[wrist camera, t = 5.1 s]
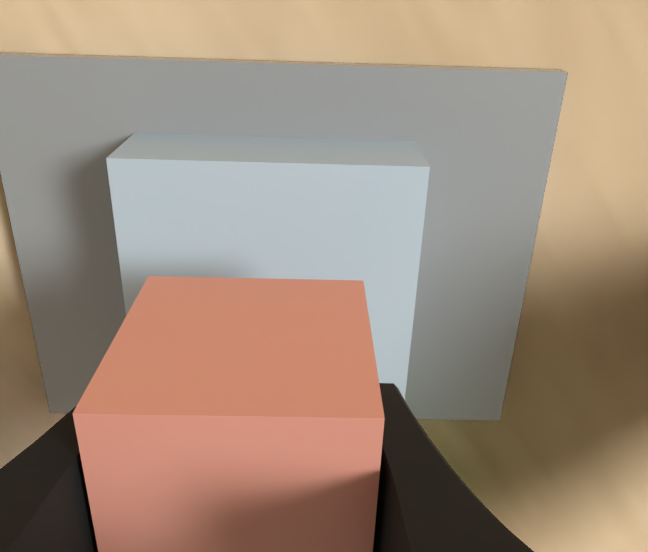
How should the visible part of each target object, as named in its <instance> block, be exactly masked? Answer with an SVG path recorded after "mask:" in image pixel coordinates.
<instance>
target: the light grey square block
mask: <svg viewBox="0 0 648 552" xmlns="http://www.w3.org/2000/svg"><path fill="white" fill-rule="evenodd" d="M106 162H107V169H108V177H109V185H110V193H111V201H112V209H113V216H114V224H115V232H116V240H117V248H118V256H119V264H120V271H121V279H122V287H123V295H124V303H125V311H126V316H127V314H128V312H129V310H130V308H131V307H132V305H133V303H134V301H135V299H136V298H137V296H138V294H139V292H140V290H141V288H142V287H143V285H144V283H145V281H146V279H147V278H148V276H171V277H220V278H269V279H318V280H363V282H364V288H365V295H366V301H367V307H368V314H369V320H370V327H371V333H372V340H373V346H374V353H375V359H376V366H377V372H378V378H379V383H394V384H395V386H396V387H397V388H398V389H399V391H400V393H401V394H402V396H403V398H404V400H405V393H406V384H407V374H408V365H409V356H410V347H411V337H412V328H413V319H414V310H415V301H416V291H417V282H418V273H419V264H420V254H421V245H422V236H423V227H424V218H425V208H426V199H427V190H428V181H429V171H430V166H429V164H428V163H427V161H426V159H425V157H424V156H423V154H422V152H421V150H420V149H419V147H418V145H417V143H416V142H415V141H395V140H359V139H323V138H287V137H251V136H215V135H179V134H144V133H134V134H133V135H132V136H130V137H129V138H128V139H127V140H126V141H125V142H124V143H123V144H121V145H120V146H119V147H118V148H117V149H116V150H115V151H114V152H112V153H111V154H110V155H109V156H108V157H107V158H106Z"/></svg>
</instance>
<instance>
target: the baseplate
mask: <svg viewBox="0 0 648 552" xmlns="http://www.w3.org/2000/svg"><path fill="white" fill-rule="evenodd" d="M567 75H568V72H565V71H563V70H561V69H532V68H499V67H466V66H433V65H401V64H368V63H335V62H302V61H269V60H237V59H204V58H171V57H138V56H105V55H73V54H40V53H7V52H0V173H1V178H2V183H3V188H4V192H5V197H6V202H7V207H8V212H9V217H10V222H11V226H12V231H13V236H14V241H15V246H16V251H17V256H18V260H19V265H20V270H21V275H22V280H23V285H24V289H25V294H26V299H27V304H28V309H29V314H30V319H31V323H32V328H33V333H34V338H35V343H36V348H37V353H38V357H39V362H40V367H41V372H42V377H43V382H44V386H45V391H46V396H47V401H48V406H49V411H50V413H69V412H70V411H71V410H72V409H73V408H74V407H75V406H76V405H77V404H78V403H79V401H80V399H81V397H82V396H83V394H84V392H85V390H86V388H87V386H88V385H89V383H90V381H91V379H92V377H93V376H94V374H95V372H96V370H97V368H98V366H99V365H100V363H101V361H102V359H103V357H104V356H105V354H106V352H107V350H108V348H109V347H110V345H111V343H112V341H113V339H114V337H115V336H116V334H117V332H118V330H119V328H120V327H121V325H122V323H123V321H124V319H125V317H126V311H125V303H124V295H123V287H122V279H121V271H120V264H119V256H118V248H117V240H116V232H115V224H114V216H113V209H112V201H111V193H110V185H109V177H108V169H107V162H106V158H107V157H108V156H109V155H110V154H111V153H112V152H114V151H115V150H116V149H117V148H118V147H119V146H120V145H121V144H123V143H124V142H125V141H126V140H127V139H128V138H129V137H130V136H132V135H133V134H134V133H144V134H179V135H215V136H251V137H287V138H323V139H359V140H395V141H415V142H416V143H417V145H418V147H419V149H420V150H421V152H422V154H423V156H424V157H425V159H426V161H427V163H428V164H429V166H430V171H429V181H428V190H427V199H426V208H425V218H424V227H423V236H422V245H421V254H420V264H419V273H418V282H417V291H416V301H415V310H414V319H413V328H412V337H411V347H410V356H409V365H408V374H407V384H406V393H405V402H406V403H407V405H408V407H409V408H410V410H411V411H412V413H413V415H414V416H415V418H416V419H429V420H484V421H500V417H501V412H502V407H503V402H504V397H505V391H506V386H507V381H508V376H509V371H510V366H511V361H512V356H513V351H514V346H515V340H516V335H517V330H518V325H519V320H520V315H521V310H522V305H523V300H524V294H525V289H526V284H527V279H528V274H529V269H530V264H531V259H532V254H533V248H534V243H535V238H536V233H537V228H538V223H539V218H540V213H541V208H542V202H543V197H544V192H545V187H546V182H547V177H548V172H549V167H550V162H551V156H552V151H553V146H554V141H555V136H556V131H557V126H558V121H559V116H560V110H561V105H562V100H563V95H564V90H565V85H566V80H567Z"/></svg>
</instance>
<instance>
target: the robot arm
mask: <svg viewBox="0 0 648 552" xmlns="http://www.w3.org/2000/svg"><path fill="white" fill-rule="evenodd" d="M379 385H380V391H381V398H382V404H383V411H384V417H385V420H384V431H383V443H382V454H381V465H380V476H379V487H378V498H377V509H376V520H375V532H374V543H373V552H534V551H532V550H531V549H530V548H529V547H528V546H526V545H525V544H524V543H523V542H522V541H521V540H519V539H518V538H517V537H516V536H515V535H514V534H513V533H512V532H511V531H509V530H508V529H507V528H506V527H505V526H504V525H503V524H502V523H501V522H500V521H499V520H498V519H497V518H496V517H495V516H494V515H493V514H492V513H491V512H490V511H489V510H488V509H487V508H486V507H485V506H484V505H483V504H482V503H481V502H480V500H479V499H478V498H477V497H476V496H475V495H474V494H473V493H472V492H471V490H470V489H469V488H468V487H467V486H466V485H465V484H464V482H463V481H462V480H461V479H460V478H459V476H458V475H457V474H456V473H455V472H454V470H453V469H452V468H451V467H450V465H449V464H448V463H447V461H446V460H445V459H444V458H443V456H442V455H441V454H440V452H439V451H438V449H437V448H436V447H435V445H434V444H433V443H432V441H431V440H430V438H429V437H428V436H427V434H426V433H425V431H424V430H423V428H422V427H421V425H420V424H419V422H418V421H417V419H416V418H415V416H414V415H413V413H412V411H411V410H410V408H409V407H408V405H407V403H406V402H405V400H404V398H403V396H402V394H401V393H400V391H399V389H398V388H397V387H396V386H395V384H394V383H379ZM77 405H78V404H77ZM77 405H76V406H77ZM76 406H75V407H74V408H73V409H72V410H71V411H70V412H69V413H67V414H66V415H65V416H64V417H63V418H62V419H61V420H60V421H58V422H57V423H56V424H55V425H54V426H53V427H52V428H50V429H49V430H48V431H47V432H46V433H45V434H43V435H42V436H41V437H40V438H39V439H38V440H36V441H35V442H34V443H33V444H31V445H30V446H29V447H28V448H26V449H25V450H24V451H23V452H21V453H20V454H19V455H18V456H16V457H15V458H14V459H12V460H11V461H10V462H9V463H7V464H6V465H5V466H4V467H2V468H1V469H0V552H98V548H97V542H96V537H95V531H94V526H93V521H92V515H91V510H90V505H89V499H88V494H87V489H86V483H85V478H84V472H83V467H82V462H81V456H80V451H79V446H78V440H77V435H76V429H75V424H74V419H73V412H74V410H75V408H76Z"/></svg>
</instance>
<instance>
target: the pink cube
mask: <svg viewBox="0 0 648 552" xmlns="http://www.w3.org/2000/svg"><path fill="white" fill-rule="evenodd" d="M73 419H74V424H75V429H76V435H77V440H78V446H79V451H80V456H81V462H82V467H83V472H84V478H85V483H86V489H87V494H88V499H89V505H90V510H91V515H92V521H93V526H94V531H95V537H96V542H97V548H98V552H373V543H374V532H375V520H376V509H377V498H378V487H379V476H380V465H381V454H382V443H383V431H384V420H385V417H384V411H383V404H382V398H381V391H380V385H379V378H378V372H377V366H376V359H375V353H374V346H373V340H372V333H371V327H370V320H369V314H368V307H367V301H366V295H365V288H364V282H363V280H318V279H269V278H220V277H171V276H148V278H147V279H146V281H145V283H144V285H143V287H142V288H141V290H140V292H139V294H138V296H137V298H136V299H135V301H134V303H133V305H132V307H131V308H130V310H129V312H128V314H127V316H126V317H125V319H124V321H123V323H122V325H121V327H120V328H119V330H118V332H117V334H116V336H115V337H114V339H113V341H112V343H111V345H110V347H109V348H108V350H107V352H106V354H105V356H104V357H103V359H102V361H101V363H100V365H99V366H98V368H97V370H96V372H95V374H94V376H93V377H92V379H91V381H90V383H89V385H88V386H87V388H86V390H85V392H84V394H83V396H82V397H81V399H80V401H79V403H78V405H77V406H76V408H75V410H74V412H73Z"/></svg>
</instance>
